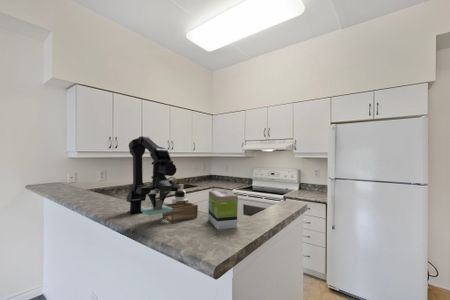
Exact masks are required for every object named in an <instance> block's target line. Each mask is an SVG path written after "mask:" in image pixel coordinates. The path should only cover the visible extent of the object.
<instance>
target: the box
mask: <svg viewBox="0 0 450 300" xmlns="http://www.w3.org/2000/svg"><path fill="white" fill-rule="evenodd" d="M164 205H165V206H168V207H171V208H173V211H171V212H166V213H162V216H163V217H165V218H167V219H168V220H167V219H166V220H167V221H169V220H170V222H171V221H172V223H173V222H174V223H177V222H182V221H181V220H183V221H186V220H190V219H191V220H192V219H195V218H198V213H199V211H198V204H195V203H192V202H189V201H188V202H179V203H172V202H171V203H166V204H164ZM163 217H162V218H163ZM165 218H164V219H165Z"/></svg>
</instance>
